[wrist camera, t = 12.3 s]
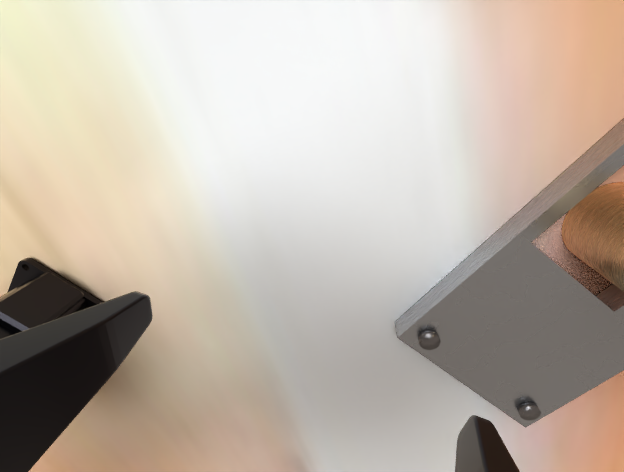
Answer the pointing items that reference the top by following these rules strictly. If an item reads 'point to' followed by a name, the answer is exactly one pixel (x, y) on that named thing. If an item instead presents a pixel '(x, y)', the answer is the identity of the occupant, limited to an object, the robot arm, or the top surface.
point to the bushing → (599, 231)
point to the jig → (526, 308)
